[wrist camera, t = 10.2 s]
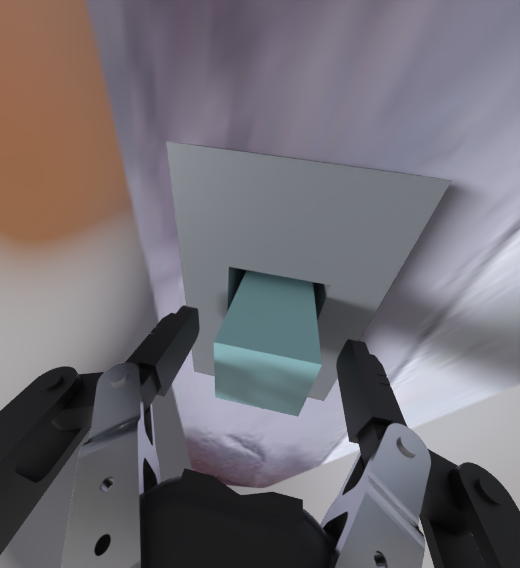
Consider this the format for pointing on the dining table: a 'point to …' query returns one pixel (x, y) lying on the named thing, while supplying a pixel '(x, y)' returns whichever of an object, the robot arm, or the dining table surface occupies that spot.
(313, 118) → the dining table surface
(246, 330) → the teal rectangular block
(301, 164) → the grey slotted block
